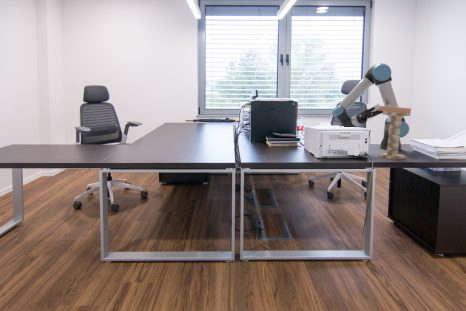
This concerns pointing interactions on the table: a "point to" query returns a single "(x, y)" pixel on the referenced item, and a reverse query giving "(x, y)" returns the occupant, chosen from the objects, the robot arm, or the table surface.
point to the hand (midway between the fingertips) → (384, 105)
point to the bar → (394, 109)
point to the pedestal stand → (394, 136)
